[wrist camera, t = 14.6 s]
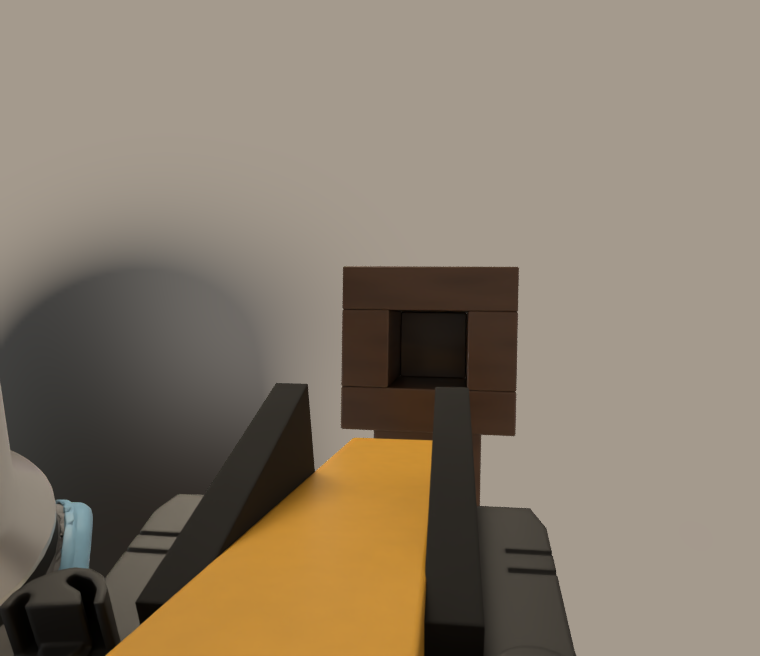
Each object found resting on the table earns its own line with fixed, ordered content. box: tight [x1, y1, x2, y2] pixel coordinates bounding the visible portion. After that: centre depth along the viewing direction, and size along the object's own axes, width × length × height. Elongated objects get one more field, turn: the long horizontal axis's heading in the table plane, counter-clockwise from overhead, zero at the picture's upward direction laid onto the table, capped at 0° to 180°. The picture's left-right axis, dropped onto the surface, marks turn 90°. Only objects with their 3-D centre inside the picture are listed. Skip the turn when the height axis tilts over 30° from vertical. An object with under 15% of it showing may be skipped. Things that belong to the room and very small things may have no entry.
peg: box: [105, 438, 432, 656], centre depth 11 cm, size 18×3×3 cm, turn 173°
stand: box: [341, 266, 519, 506], centre depth 30 cm, size 12×12×35 cm
